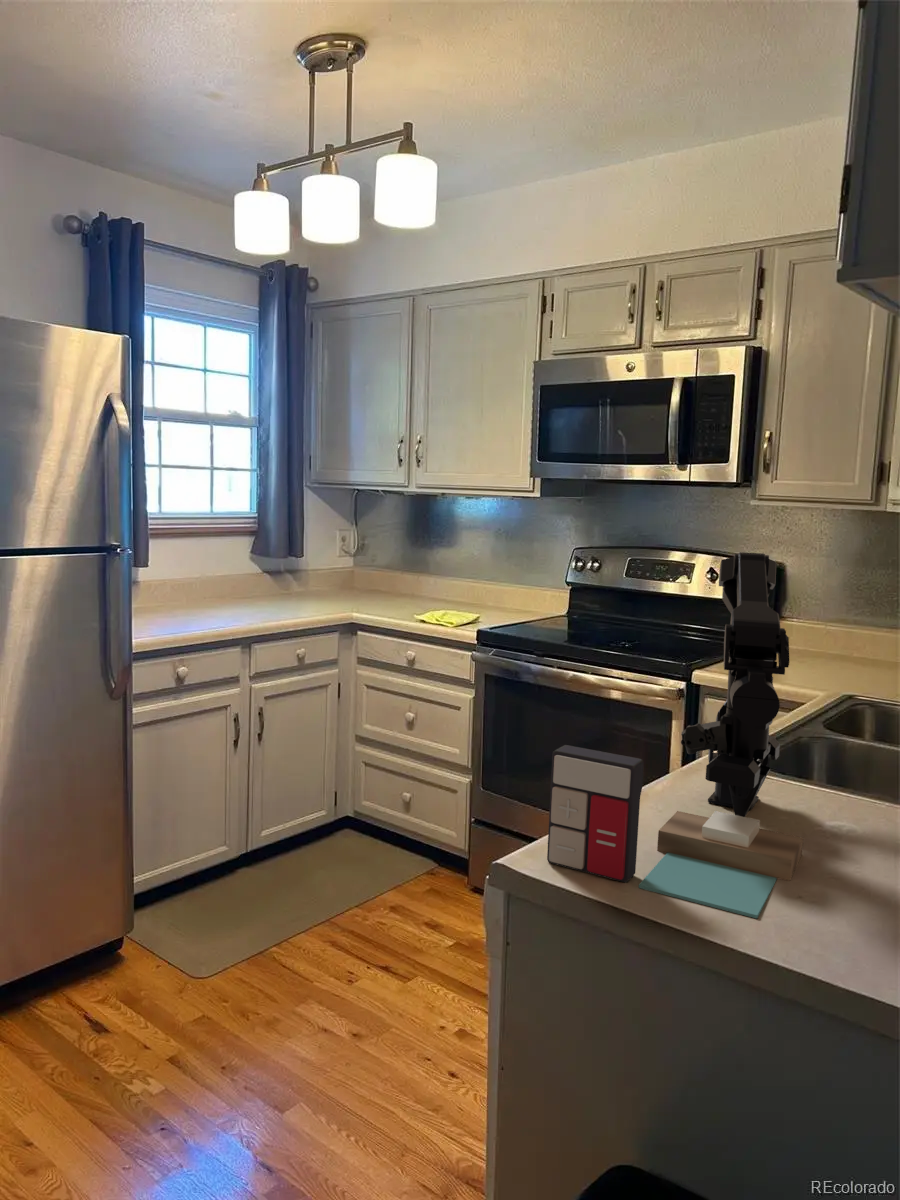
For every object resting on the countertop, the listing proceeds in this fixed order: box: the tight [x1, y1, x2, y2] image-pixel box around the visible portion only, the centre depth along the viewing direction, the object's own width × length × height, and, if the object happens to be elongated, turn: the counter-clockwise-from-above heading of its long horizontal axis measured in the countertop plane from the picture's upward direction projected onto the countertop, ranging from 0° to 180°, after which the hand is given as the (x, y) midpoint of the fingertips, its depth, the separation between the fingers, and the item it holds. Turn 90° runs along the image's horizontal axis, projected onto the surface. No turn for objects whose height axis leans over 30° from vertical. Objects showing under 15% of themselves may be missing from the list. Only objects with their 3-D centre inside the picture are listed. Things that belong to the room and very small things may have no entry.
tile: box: [702, 810, 761, 847], centre depth 119 cm, size 7×6×2 cm
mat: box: [638, 852, 778, 919], centre depth 111 cm, size 12×14×1 cm
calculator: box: [546, 744, 645, 883], centre depth 113 cm, size 11×4×15 cm, turn 59°
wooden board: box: [656, 810, 804, 882], centre depth 120 cm, size 9×17×3 cm, turn 60°
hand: (740, 818), depth 124 cm, fingers closed
